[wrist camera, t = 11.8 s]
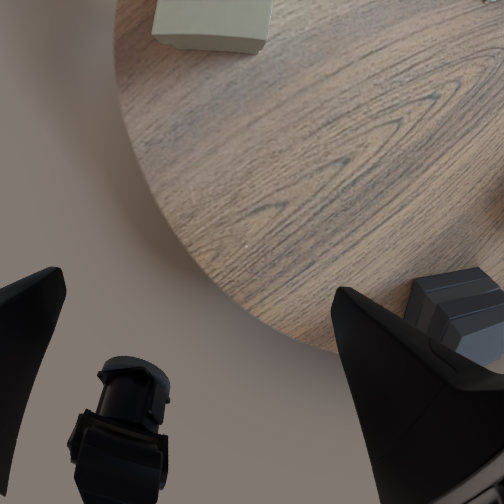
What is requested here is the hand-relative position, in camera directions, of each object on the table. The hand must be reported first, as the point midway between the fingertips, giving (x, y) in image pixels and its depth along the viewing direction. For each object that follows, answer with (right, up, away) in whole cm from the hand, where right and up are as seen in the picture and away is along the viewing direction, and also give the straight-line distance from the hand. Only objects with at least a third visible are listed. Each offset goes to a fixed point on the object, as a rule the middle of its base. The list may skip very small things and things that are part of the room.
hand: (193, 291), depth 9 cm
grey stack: (+21, -3, +16) cm, 27 cm away
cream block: (0, +15, +1) cm, 15 cm away
